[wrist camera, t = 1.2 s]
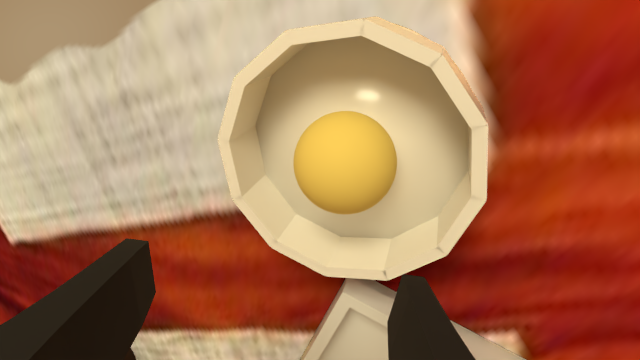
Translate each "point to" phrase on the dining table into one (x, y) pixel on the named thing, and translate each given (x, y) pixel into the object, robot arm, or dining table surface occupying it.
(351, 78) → the bowl
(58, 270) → the dining table surface
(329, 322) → the tray
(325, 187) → the ball
